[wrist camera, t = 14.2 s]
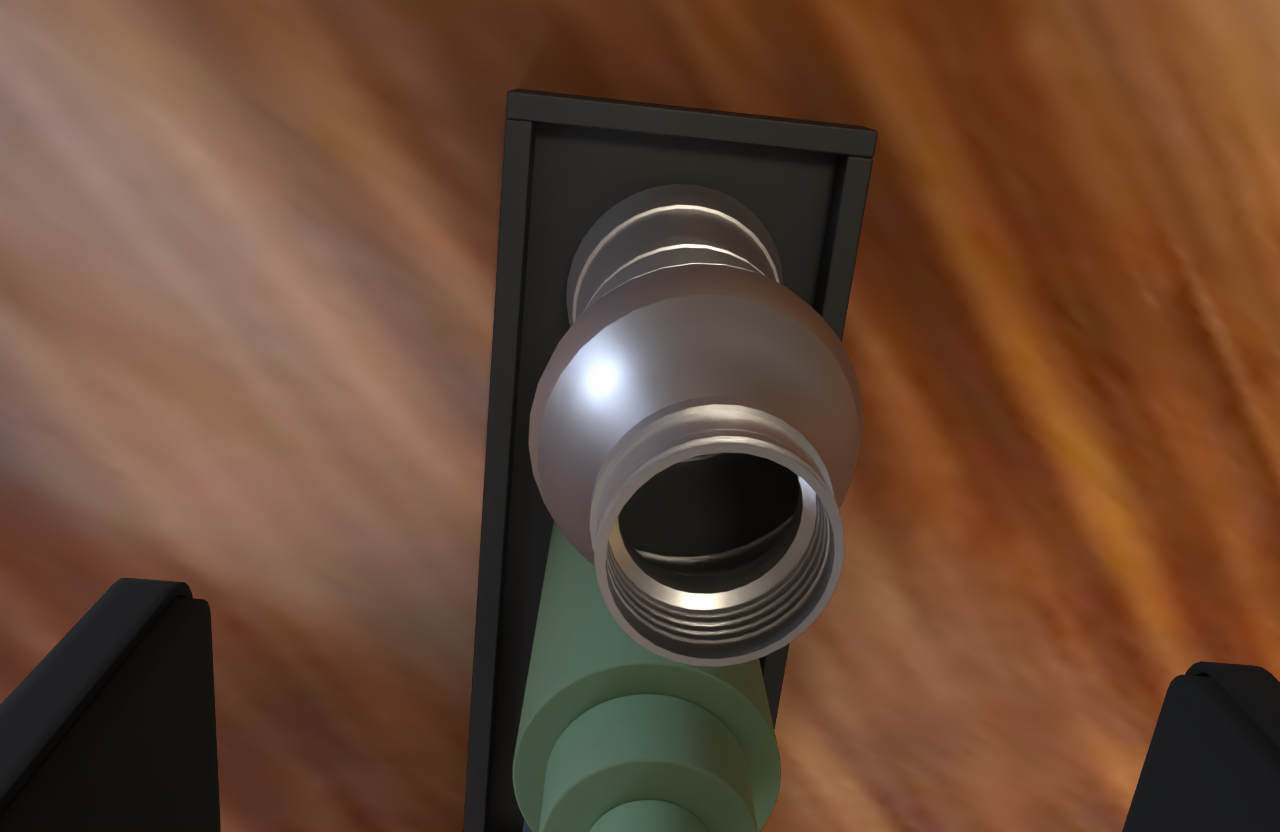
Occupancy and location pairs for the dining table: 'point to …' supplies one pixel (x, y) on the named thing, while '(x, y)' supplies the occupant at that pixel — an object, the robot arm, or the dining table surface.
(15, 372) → the dining table surface
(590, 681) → the green bottle
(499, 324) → the tray
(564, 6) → the dining table surface
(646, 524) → the silver metal bottle
